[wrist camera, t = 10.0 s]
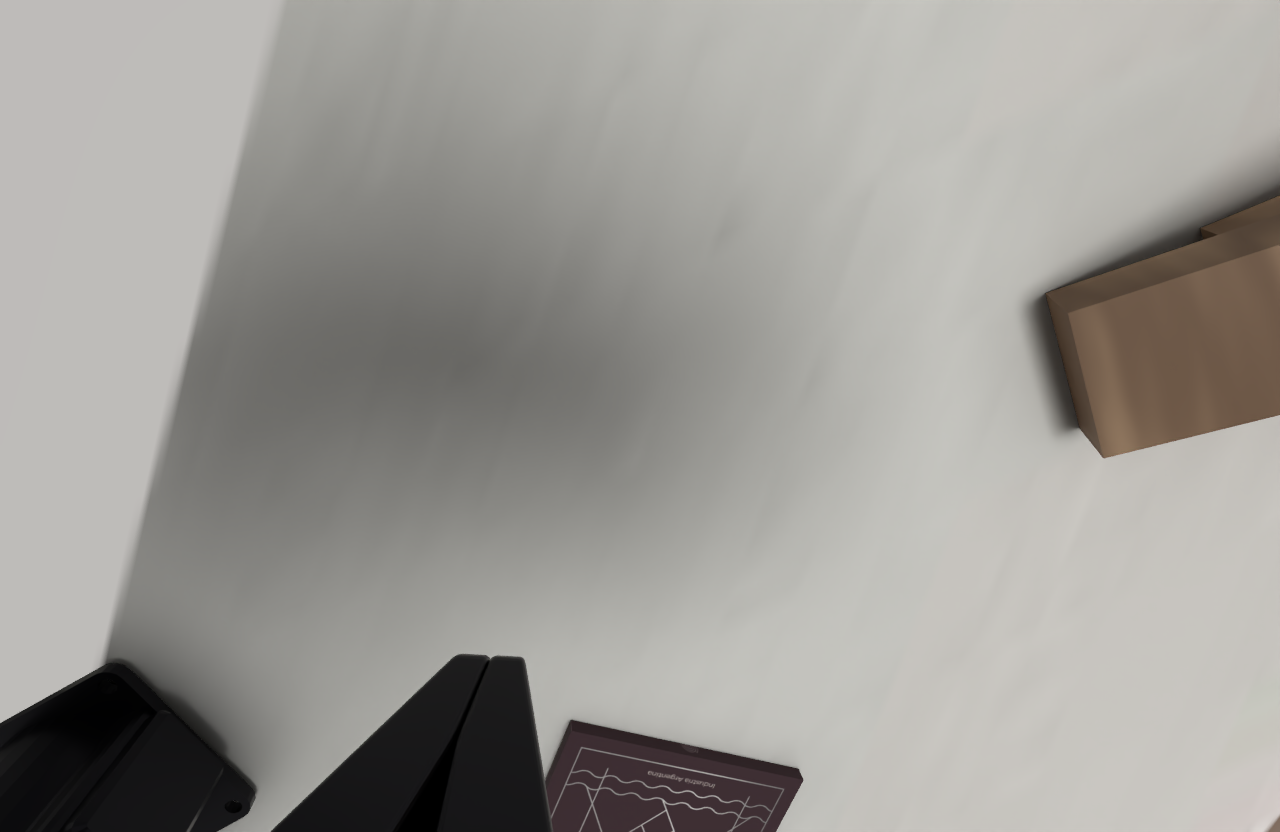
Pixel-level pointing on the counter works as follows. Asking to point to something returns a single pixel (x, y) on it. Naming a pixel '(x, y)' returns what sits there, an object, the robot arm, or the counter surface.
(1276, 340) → the domino
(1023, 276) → the counter surface
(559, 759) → the chocolate bar
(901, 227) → the counter surface
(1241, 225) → the domino
